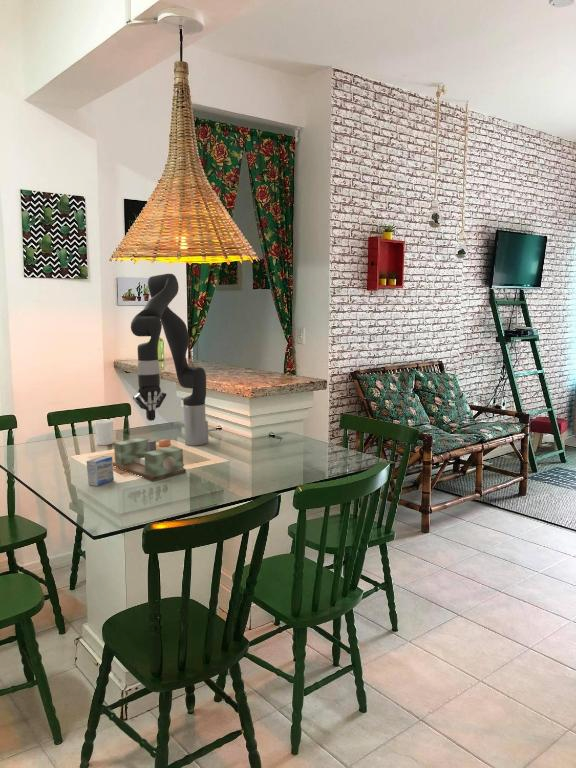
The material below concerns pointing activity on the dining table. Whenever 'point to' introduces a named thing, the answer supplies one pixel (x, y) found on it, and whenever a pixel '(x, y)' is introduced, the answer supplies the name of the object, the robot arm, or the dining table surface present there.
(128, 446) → the rail stand
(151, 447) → the carriage
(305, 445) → the dining table surface
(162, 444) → the button
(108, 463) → the medicine box
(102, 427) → the white cup
